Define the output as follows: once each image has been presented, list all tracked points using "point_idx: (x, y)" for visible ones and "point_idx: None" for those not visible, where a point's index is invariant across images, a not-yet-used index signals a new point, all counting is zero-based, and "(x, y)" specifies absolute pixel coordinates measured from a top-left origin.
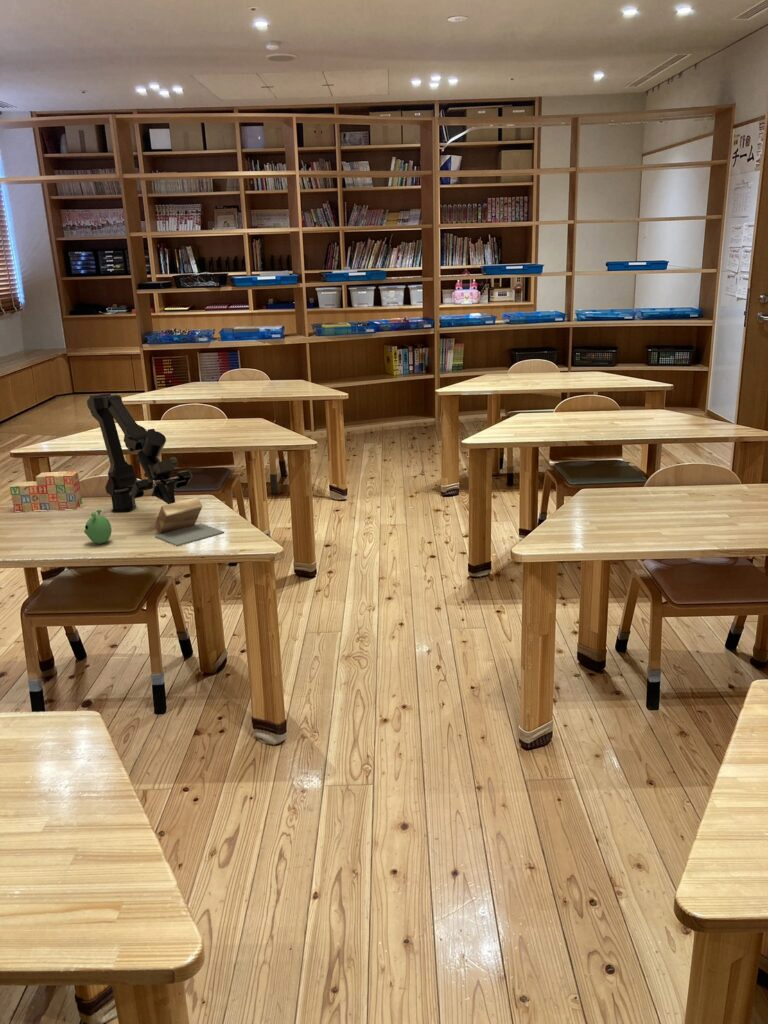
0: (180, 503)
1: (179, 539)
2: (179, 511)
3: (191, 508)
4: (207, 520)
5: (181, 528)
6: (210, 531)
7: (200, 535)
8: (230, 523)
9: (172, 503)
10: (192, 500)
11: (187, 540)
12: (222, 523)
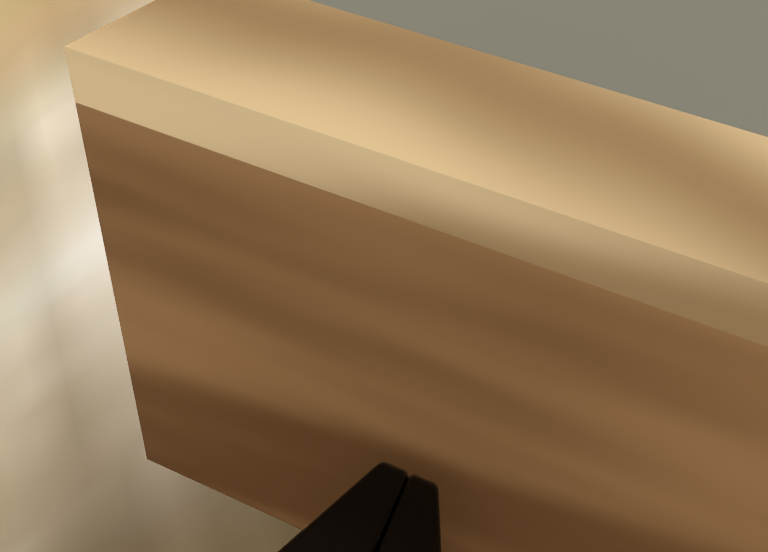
0: (535, 165)
1: (766, 133)
2: (688, 113)
3: (424, 37)
4: (19, 335)
5: None
6: (391, 4)
7: (546, 12)
8: (58, 38)
9: (734, 264)
10: (233, 67)
11: (751, 28)
12: (76, 113)
